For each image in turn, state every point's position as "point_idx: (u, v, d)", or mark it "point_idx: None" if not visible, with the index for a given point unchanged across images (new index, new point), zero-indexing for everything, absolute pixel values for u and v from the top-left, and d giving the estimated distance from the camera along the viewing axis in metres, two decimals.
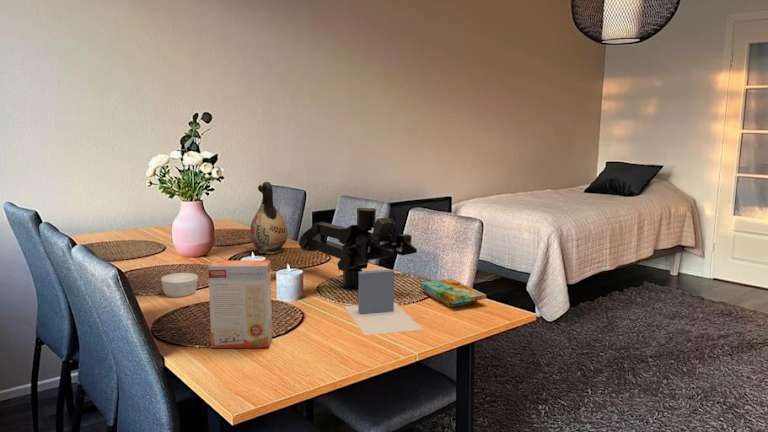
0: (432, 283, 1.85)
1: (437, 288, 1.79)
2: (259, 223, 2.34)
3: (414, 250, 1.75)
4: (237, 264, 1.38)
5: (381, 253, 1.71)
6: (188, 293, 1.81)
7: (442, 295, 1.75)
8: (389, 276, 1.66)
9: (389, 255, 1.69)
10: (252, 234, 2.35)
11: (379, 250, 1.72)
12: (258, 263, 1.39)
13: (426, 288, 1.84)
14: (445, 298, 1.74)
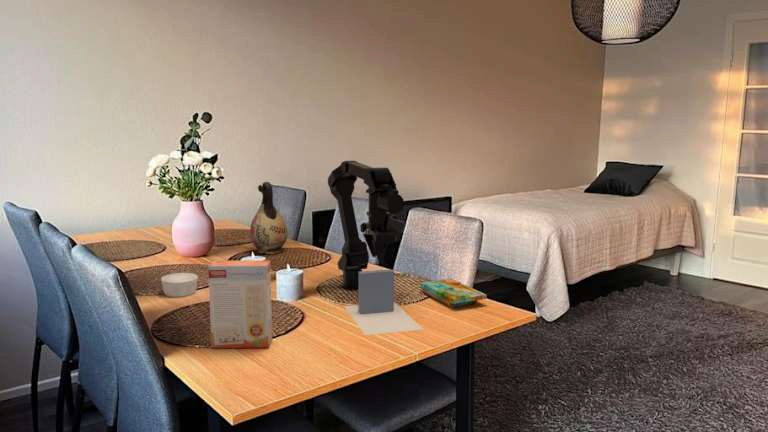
0: (432, 283, 1.85)
1: (437, 288, 1.79)
2: (259, 223, 2.34)
3: (374, 255, 1.80)
4: (237, 264, 1.38)
5: (380, 249, 1.72)
6: (188, 293, 1.81)
7: (443, 295, 1.75)
8: (389, 276, 1.66)
9: (379, 258, 1.73)
10: (252, 234, 2.35)
11: (382, 246, 1.72)
12: (258, 263, 1.39)
13: (426, 288, 1.83)
14: (446, 298, 1.74)
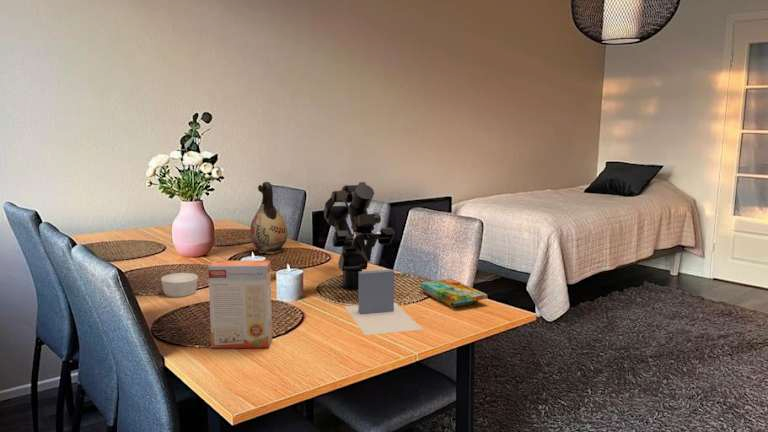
0: (432, 283, 1.85)
1: (438, 288, 1.79)
2: (259, 223, 2.34)
3: None
4: (237, 264, 1.38)
5: (361, 250, 1.76)
6: (188, 293, 1.81)
7: (444, 295, 1.75)
8: (389, 276, 1.66)
9: (365, 258, 1.74)
10: (252, 234, 2.35)
11: None
12: (258, 263, 1.39)
13: (426, 288, 1.83)
14: (447, 298, 1.73)
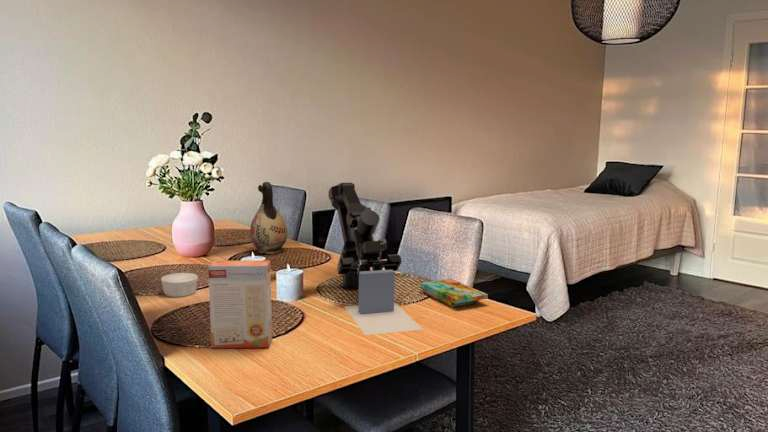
0: (432, 283, 1.85)
1: (438, 288, 1.79)
2: (259, 223, 2.34)
3: None
4: (237, 264, 1.38)
5: None
6: (188, 293, 1.81)
7: (444, 295, 1.75)
8: (389, 276, 1.65)
9: None
10: (252, 234, 2.35)
11: None
12: (258, 263, 1.39)
13: (427, 288, 1.83)
14: (447, 298, 1.73)
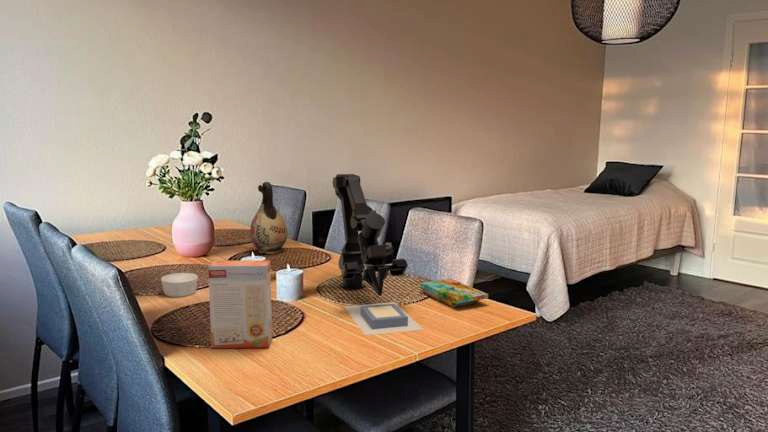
0: (432, 283, 1.85)
1: (439, 288, 1.79)
2: (259, 223, 2.34)
3: None
4: (237, 264, 1.38)
5: (372, 283, 1.65)
6: (188, 293, 1.81)
7: (445, 295, 1.75)
8: None
9: (376, 292, 1.64)
10: (252, 234, 2.35)
11: (372, 279, 1.65)
12: (258, 263, 1.39)
13: (427, 288, 1.83)
14: (448, 298, 1.73)
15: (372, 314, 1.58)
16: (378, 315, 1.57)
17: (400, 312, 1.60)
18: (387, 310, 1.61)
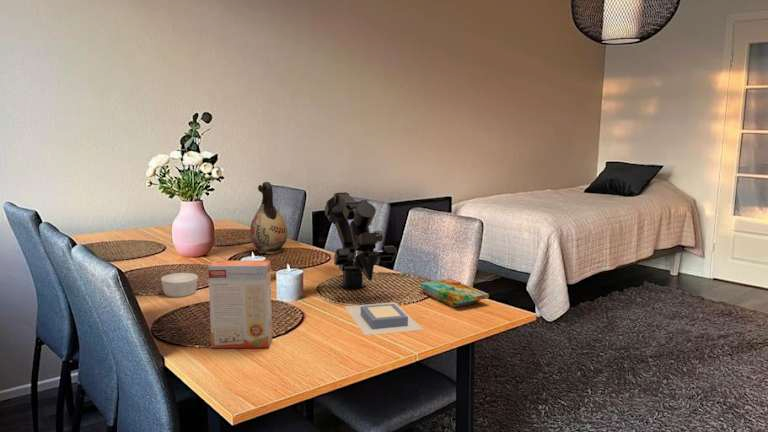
0: (433, 283, 1.85)
1: (439, 288, 1.79)
2: (259, 223, 2.34)
3: None
4: (237, 264, 1.38)
5: (363, 269, 1.74)
6: (188, 293, 1.81)
7: (445, 295, 1.75)
8: None
9: (366, 277, 1.73)
10: (252, 234, 2.35)
11: (363, 264, 1.74)
12: (258, 263, 1.39)
13: (427, 289, 1.83)
14: (449, 298, 1.73)
15: (372, 314, 1.58)
16: (378, 315, 1.57)
17: (400, 312, 1.60)
18: (387, 310, 1.61)
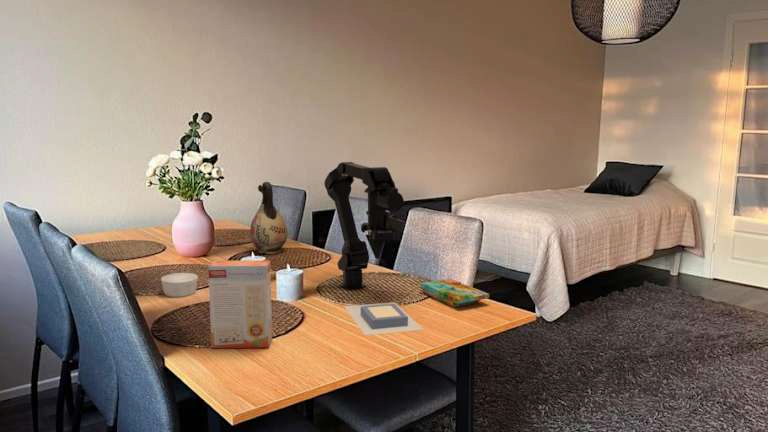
0: (433, 283, 1.85)
1: (439, 288, 1.79)
2: (259, 223, 2.34)
3: None
4: (237, 264, 1.38)
5: (376, 246, 1.76)
6: (188, 293, 1.81)
7: (446, 295, 1.75)
8: None
9: (376, 255, 1.77)
10: (252, 234, 2.35)
11: (378, 242, 1.76)
12: (258, 263, 1.39)
13: (427, 289, 1.83)
14: (449, 298, 1.73)
15: (372, 314, 1.58)
16: (378, 315, 1.57)
17: (400, 312, 1.60)
18: (387, 310, 1.61)
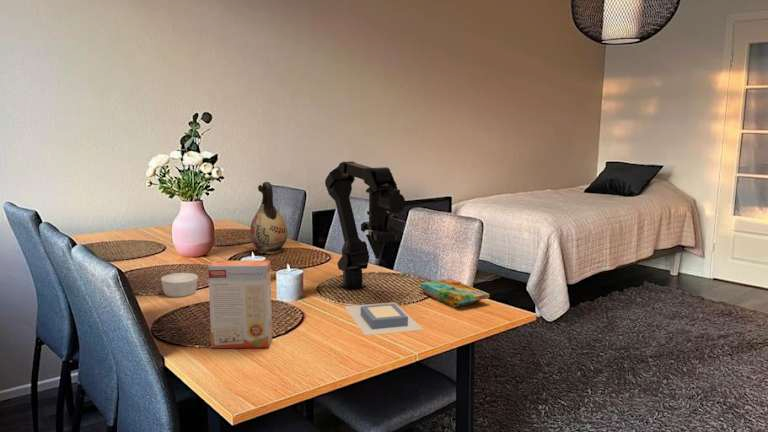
0: (433, 283, 1.84)
1: (440, 288, 1.79)
2: (259, 223, 2.34)
3: None
4: (236, 264, 1.38)
5: (377, 246, 1.76)
6: (188, 293, 1.81)
7: (446, 295, 1.75)
8: None
9: (376, 255, 1.78)
10: (252, 234, 2.35)
11: (379, 243, 1.77)
12: (258, 263, 1.39)
13: (427, 289, 1.83)
14: (450, 298, 1.73)
15: (372, 314, 1.58)
16: (378, 315, 1.57)
17: (400, 312, 1.60)
18: (387, 310, 1.61)
